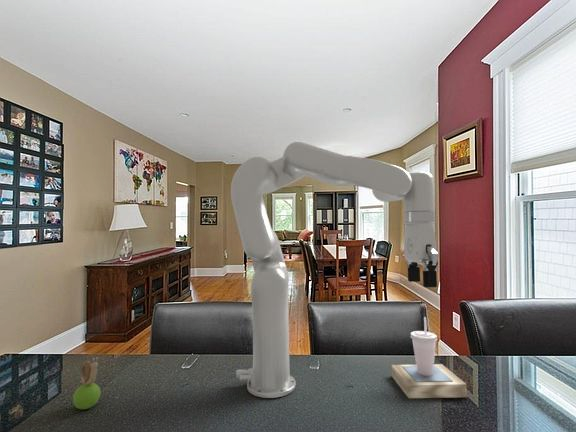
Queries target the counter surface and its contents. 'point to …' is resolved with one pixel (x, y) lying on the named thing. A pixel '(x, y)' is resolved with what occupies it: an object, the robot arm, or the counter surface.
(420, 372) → the smoothie
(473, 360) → the counter surface
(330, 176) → the robot arm
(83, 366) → the snail figurine
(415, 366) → the plinth
